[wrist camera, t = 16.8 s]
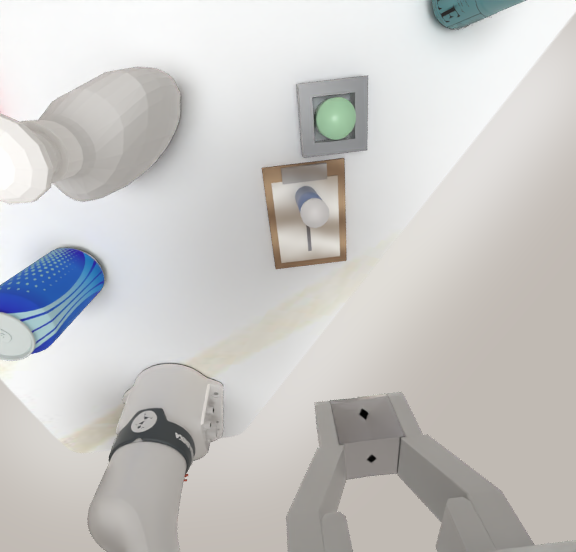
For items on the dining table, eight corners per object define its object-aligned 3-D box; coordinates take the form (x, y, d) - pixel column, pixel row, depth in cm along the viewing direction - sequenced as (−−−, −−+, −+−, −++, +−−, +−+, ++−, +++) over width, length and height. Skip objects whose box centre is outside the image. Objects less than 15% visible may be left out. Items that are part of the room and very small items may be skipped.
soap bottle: (146, 46, 36) (-94, -76, 12) (207, 100, 39) (110, 88, 15) (88, 151, 40) (-168, 214, 17) (146, 192, 43) (-2, 296, 19)
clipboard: (345, 258, 50) (347, 262, 48) (275, 267, 50) (275, 271, 48) (343, 158, 43) (345, 159, 41) (261, 167, 43) (261, 169, 41)
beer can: (96, 241, 46) (20, 300, 32) (116, 291, 50) (56, 363, 36) (38, 247, 46) (-64, 309, 32) (62, 296, 50) (-19, 371, 36)
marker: (317, 206, 44) (330, 226, 35) (295, 209, 44) (302, 229, 35) (316, 184, 43) (328, 198, 34) (293, 187, 43) (299, 201, 34)
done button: (349, 135, 41) (356, 137, 38) (315, 139, 41) (319, 141, 38) (348, 95, 39) (355, 94, 36) (312, 100, 39) (316, 99, 36)
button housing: (361, 147, 42) (367, 150, 40) (301, 155, 42) (304, 157, 40) (362, 77, 38) (368, 75, 36) (296, 85, 38) (298, 83, 36)
